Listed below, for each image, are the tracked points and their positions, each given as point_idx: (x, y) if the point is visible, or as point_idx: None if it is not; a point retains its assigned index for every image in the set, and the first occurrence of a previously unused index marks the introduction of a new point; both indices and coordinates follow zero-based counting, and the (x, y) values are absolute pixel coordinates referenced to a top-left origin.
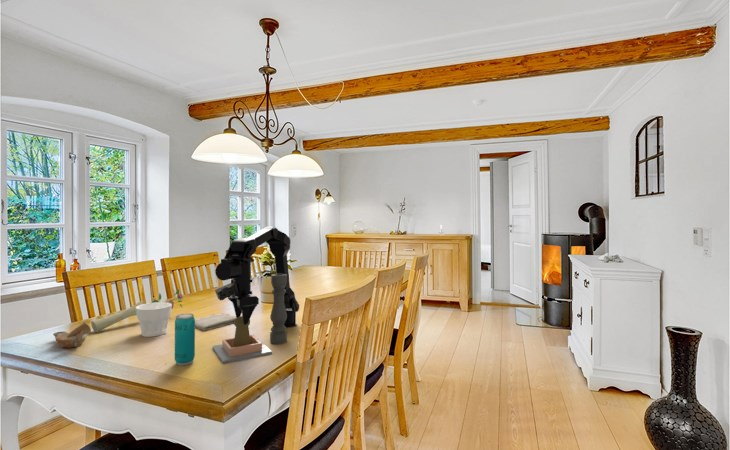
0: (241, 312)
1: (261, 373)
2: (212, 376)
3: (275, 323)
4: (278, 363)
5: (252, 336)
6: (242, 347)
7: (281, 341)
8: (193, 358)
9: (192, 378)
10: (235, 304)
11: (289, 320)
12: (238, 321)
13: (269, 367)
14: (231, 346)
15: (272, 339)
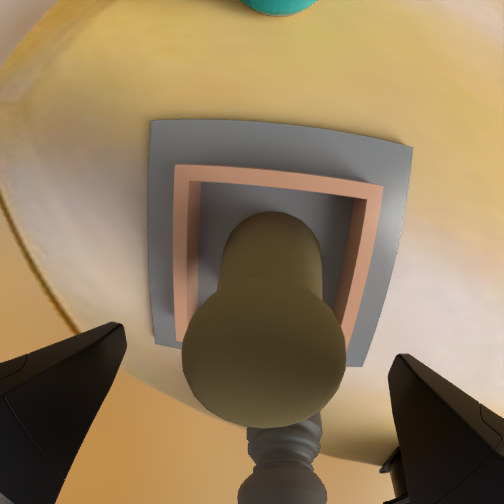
0: (396, 426)
1: (27, 227)
2: (72, 74)
3: (267, 466)
4: (70, 306)
5: None
6: (174, 240)
7: None
8: (249, 6)
9: (100, 16)
10: (476, 462)
11: (395, 473)
12: (202, 318)
13: (52, 267)
14: (342, 225)
15: None
